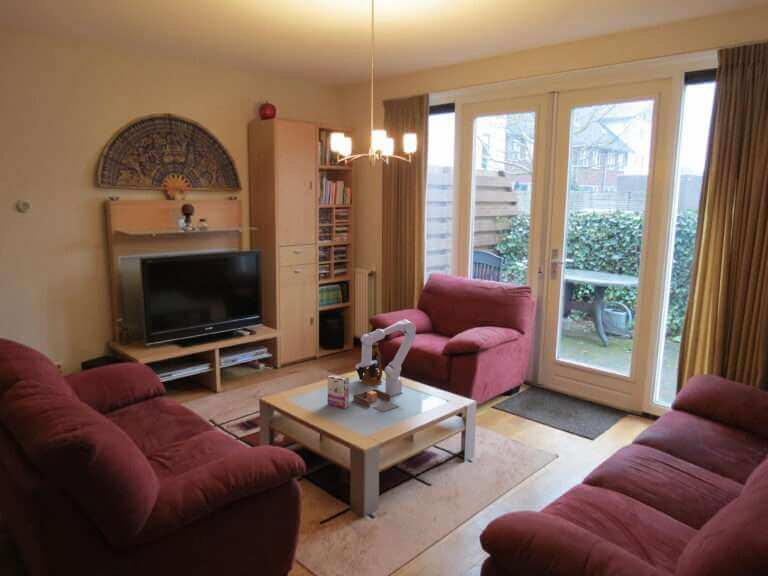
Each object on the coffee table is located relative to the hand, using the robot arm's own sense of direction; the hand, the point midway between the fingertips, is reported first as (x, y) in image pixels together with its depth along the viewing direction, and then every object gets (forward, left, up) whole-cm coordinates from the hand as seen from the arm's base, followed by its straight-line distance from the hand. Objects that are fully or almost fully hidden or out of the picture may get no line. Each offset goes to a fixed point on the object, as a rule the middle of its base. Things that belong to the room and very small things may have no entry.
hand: (366, 378), depth 310 cm
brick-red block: (+2, +8, -10) cm, 13 cm away
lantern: (-18, -15, -11) cm, 25 cm away
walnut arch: (+2, +8, -10) cm, 13 cm away
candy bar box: (+21, +2, -11) cm, 24 cm away
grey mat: (+2, +20, -10) cm, 23 cm away
